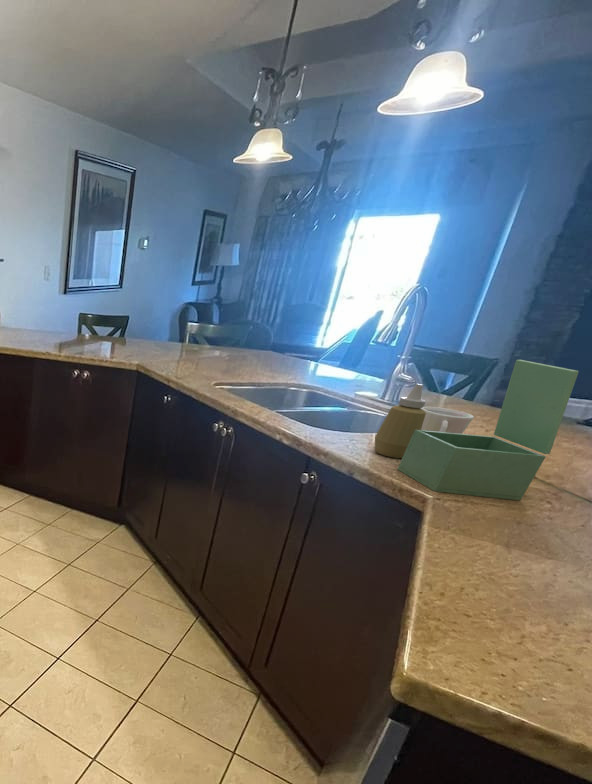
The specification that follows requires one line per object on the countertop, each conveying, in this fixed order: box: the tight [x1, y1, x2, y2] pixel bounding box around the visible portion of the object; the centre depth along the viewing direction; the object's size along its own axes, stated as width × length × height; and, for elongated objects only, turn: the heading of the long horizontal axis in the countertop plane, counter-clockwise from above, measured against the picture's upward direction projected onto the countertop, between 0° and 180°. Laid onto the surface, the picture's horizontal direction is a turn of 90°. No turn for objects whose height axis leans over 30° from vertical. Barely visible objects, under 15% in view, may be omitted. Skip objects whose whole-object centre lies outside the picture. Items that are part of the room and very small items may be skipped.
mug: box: [421, 406, 475, 434], centre depth 127 cm, size 10×15×10 cm
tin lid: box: [493, 359, 580, 455], centre depth 99 cm, size 16×13×1 cm
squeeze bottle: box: [374, 383, 427, 459], centre depth 120 cm, size 8×8×18 cm
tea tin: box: [396, 430, 547, 501], centre depth 105 cm, size 16×13×10 cm
